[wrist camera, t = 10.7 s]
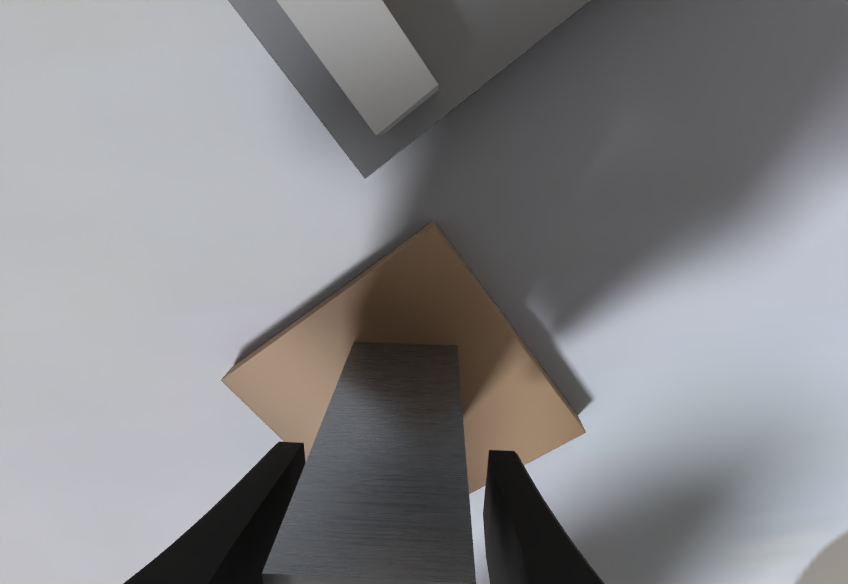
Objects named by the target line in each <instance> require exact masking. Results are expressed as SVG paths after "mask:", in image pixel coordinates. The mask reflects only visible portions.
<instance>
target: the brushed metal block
mask: <svg viewBox="0 0 848 584" xmlns="http://www.w3.org/2000/svg"><path fill="white" fill-rule="evenodd" d="M262 578H263V584H476V578H475V565H474V553H473V540H472V527H471V514H470V501H469V488H468V475H467V463H466V450H465V437H464V424H463V411H462V398H461V385H460V373H459V360H458V347H457V345H435V344H406V343H378V342H353V345H352V347H351V350H350V352H349V355H348V357H347V360H346V362H345V365H344V367H343V370H342V372H341V375H340V377H339V380H338V382H337V385H336V388H335V390H334V393H333V395H332V398H331V400H330V403H329V405H328V408H327V410H326V413H325V415H324V418H323V420H322V423H321V425H320V428H319V430H318V433H317V435H316V438H315V441H314V443H313V446H312V448H311V451H310V453H309V456H308V458H307V461H306V463H305V466H304V468H303V471H302V473H301V476H300V478H299V481H298V483H297V486H296V488H295V491H294V494H293V496H292V499H291V501H290V504H289V506H288V509H287V511H286V514H285V516H284V519H283V521H282V524H281V526H280V529H279V531H278V534H277V536H276V539H275V542H274V544H273V547H272V549H271V552H270V554H269V557H268V559H267V562H266V564H265V567H264V569H263V572H262Z"/></svg>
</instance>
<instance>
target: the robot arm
mask: <svg viewBox="0 0 848 584" xmlns="http://www.w3.org/2000/svg"><path fill="white" fill-rule="evenodd" d="M305 463H306V461H305V451H304V443H298V442H278V443H277V444H276V445H275V446H274V447H273V448H272V449H271V450H270V451H269V452H268V453H267V454H266V455H265V456H264V457H263V458H262V459H261V460H260V461H259V462H258V463H257V464H256V465H255V466H254V467H253V468H252V469H251V470H250V471H249V472H248V473H247V474H246V475H245V476H244V477H243V478H242V479H241V480H240V481H239V482H238V483H237V484H236V485H235V486H234V487H233V488H232V489H231V490H230V491H229V492H228V493H227V494H226V495H225V496H224V497H223V498H222V499H221V500H220V501H219V502H218V503H217V504H216V505H215V506H214V507H213V508H212V509H211V510H210V511H208V512H207V513H206V514H205V515H204V516H203V517H202V518H201V519H200V520H199V521H198V522H196V523H195V524H194V525H193V526H192V527H191V528H190V529H189V530H187V531H186V532H185V533H184V534H183V535H182V536H181V537H180V538H178V539H177V540H176V541H175V542H174V543H173V544H172V545H171V546H169V547H168V548H167V549H166V550H165V551H163V552H162V553H161V554H160V555H159V556H157V557H156V558H155V559H154V560H153V561H151V562H150V563H149V564H148V565H146V566H145V567H144V568H143V569H141V570H140V571H139V572H138V573H136V574H135V575H134V576H133V577H131V578H130V579H129V580H127V581H126V582H125V583H124V584H263V578H262V572H263V569H264V567H265V564H266V562H267V559H268V557H269V554H270V552H271V549H272V547H273V544H274V542H275V539H276V536H277V534H278V531H279V529H280V526H281V524H282V521H283V519H284V516H285V514H286V511H287V509H288V506H289V504H290V501H291V499H292V496H293V494H294V491H295V488H296V486H297V483H298V481H299V478H300V476H301V473H302V471H303V468H304V466H305ZM483 519H484V534H485V547H486V559H487V565H488V572H489V578H490V583H491V584H604V583H603V581H602V580H601V579H600V578H599V576H598V575H597V574H596V573H595V571H594V570H593V569H592V567H591V566H590V565H589V563H588V562H587V561H586V559H585V558H584V557H583V555H582V554H581V553H580V551H579V550H578V549H577V547H576V546H575V545H574V543H573V542H572V541H571V539H570V538H569V536H568V535H567V534H566V532H565V531H564V529H563V528H562V526H561V525H560V523H559V522H558V520H557V519H556V517H555V516H554V514H553V513H552V511H551V510H550V508H549V507H548V505H547V504H546V502H545V501H544V499H543V497H542V496H541V494H540V493H539V491H538V489H537V488H536V486H535V484H534V483H533V481H532V479H531V477H530V476H529V474H528V472H527V470H526V469H525V467H524V465H523V463H522V461H521V459H520V457H519V455H518V454H517V453H516V452H515V451H504V450H489V454H488V465H487V477H486V488H485V499H484V510H483Z"/></svg>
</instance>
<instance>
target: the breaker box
mask: <svg viewBox="0 0 848 584" xmlns="http://www.w3.org/2000/svg"><path fill="white" fill-rule="evenodd" d="M228 1H229V2H230V3H231V5H232V6H233V7H234V9H235V10H236V11H237V13H238V14H239V15H240V16H241V18H242V19H243V20H244V22H245V23H246V24H247V26H248V27H249V28H250V29H251V31H252V32H253V33H254V35H255V36H256V37H257V39H258V40H259V41H260V42H261V44H262V45H263V46H264V48H265V49H266V50H267V52H268V53H269V54H270V56H271V57H272V58H273V59H274V61H275V62H276V63H277V65H278V66H279V67H280V69H281V70H282V71H283V72H284V74H285V75H286V76H287V78H288V79H289V80H290V82H291V83H292V84H293V85H294V87H295V88H296V89H297V91H298V92H299V93H300V95H301V96H302V97H303V98H304V100H305V101H306V102H307V104H308V105H309V106H310V108H311V109H312V110H313V112H314V113H315V114H316V115H317V117H318V118H319V119H320V121H321V122H322V123H323V125H324V126H325V127H326V128H327V130H328V131H329V132H330V134H331V135H332V136H333V138H334V139H335V140H336V141H337V143H338V144H339V145H340V147H341V148H342V149H343V151H344V152H345V153H346V154H347V156H348V157H349V158H350V160H351V161H352V162H353V164H354V165H355V166H356V167H357V169H358V170H359V171H360V173H361V174H362V175H363V177H364V178H367V177H368V176H369V175H371V174H372V173H373V172H374V171H376V170H377V169H378V168H380V167H381V166H382V165H383V164H385V163H386V162H387V161H388V160H390V159H391V158H392V157H393V156H395V155H396V154H397V153H398V152H400V151H401V150H402V149H403V148H405V147H406V146H407V145H409V144H410V143H411V142H412V141H414V140H415V139H416V138H417V137H419V136H420V135H421V134H422V133H424V132H425V131H426V130H427V129H429V128H430V127H431V126H433V125H434V124H435V123H436V122H438V121H439V120H440V119H441V118H443V117H444V116H445V115H446V114H448V113H449V112H450V111H451V110H453V109H454V108H455V107H456V106H458V105H459V104H460V103H462V102H463V101H464V100H465V99H467V98H468V97H469V96H470V95H472V94H473V93H474V92H475V91H477V90H478V89H479V88H480V87H482V86H483V85H484V84H485V83H487V82H488V81H489V80H491V79H492V78H493V77H494V76H496V75H497V74H498V73H499V72H501V71H502V70H503V69H504V68H506V67H507V66H508V65H509V64H511V63H512V62H513V61H515V60H516V59H517V58H518V57H520V56H521V55H522V54H523V53H525V52H526V51H527V50H528V49H530V48H531V47H532V46H533V45H535V44H536V43H537V42H538V41H540V40H541V39H542V38H544V37H545V36H546V35H547V34H549V33H550V32H551V31H552V30H554V29H555V28H556V27H557V26H559V25H560V24H561V23H562V22H564V21H565V20H566V19H567V18H569V17H570V16H571V15H573V14H574V13H575V12H576V11H578V10H579V9H580V8H581V7H583V6H584V5H585V4H586V3H588V2H589V1H590V0H228Z"/></svg>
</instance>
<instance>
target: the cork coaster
mask: <svg viewBox="0 0 848 584" xmlns="http://www.w3.org/2000/svg"><path fill="white" fill-rule="evenodd" d="M353 342H378V343H406V344H435V345H457V347H458V360H459V373H460V385H461V398H462V411H463V424H464V437H465V450H466V463H467V475H468V488H469V494H470V493H472V492H474V491H476V490H478V489H480V488H481V487H483V486H485V485H486V477H487V465H488V454H489V450H504V451H515V452H516V453H517V454H518V455H519V457H520V459H521V461H522V463H523V465H525V464H527V463H529V462H531V461H533V460H535V459H537V458H539V457H540V456H542V455H544V454H546V453H548V452H550V451H552V450H554V449H556V448H558V447H559V446H561V445H563V444H565V443H567V442H569V441H571V440H573V439H575V438H577V437H578V436H580V435H582V434H584V433H586V432H585V430H584V428H583V426H582V423H581V421H580V419H579V417H578V415H577V414H576V413H575V411H574V410H573V409H572V407H571V406H570V405H569V403H568V402H567V401H566V399H565V398H564V396H563V395H562V394H561V392H560V391H559V390H558V388H557V387H556V386H555V384H554V383H553V382H552V380H551V379H550V378H549V376H548V375H547V374H546V372H545V371H544V369H543V368H542V367H541V365H540V364H539V363H538V361H537V360H536V359H535V357H534V356H533V355H532V353H531V352H530V351H529V349H528V348H527V346H526V345H525V344H524V342H523V341H522V340H521V338H520V337H519V336H518V334H517V333H516V332H515V330H514V329H513V328H512V326H511V325H510V324H509V322H508V321H507V319H506V318H505V317H504V315H503V314H502V313H501V311H500V310H499V309H498V307H497V306H496V305H495V303H494V302H493V301H492V299H491V298H490V296H489V295H488V294H487V292H486V291H485V290H484V288H483V287H482V286H481V284H480V283H479V282H478V280H477V279H476V278H475V276H474V275H473V274H472V272H471V271H470V269H469V268H468V267H467V265H466V264H465V263H464V261H463V260H462V259H461V257H460V256H459V255H458V253H457V252H456V251H455V249H454V248H453V246H452V245H451V244H450V242H449V241H448V240H447V238H446V237H445V236H444V234H443V233H442V232H441V230H440V229H439V228H438V226H437V225H436V224H435V222H434V221H432V222H431V223H429V224H428V225H427V226H425V227H424V228H423V229H421V230H420V231H418V232H417V233H416V234H414V235H413V236H412V237H410V238H409V239H407V240H406V241H405V242H403V243H402V244H401V245H399V246H398V247H396V248H395V249H394V250H392V251H391V252H390V253H388V254H387V255H385V256H384V257H383V258H381V259H380V260H379V261H377V262H376V263H374V264H373V265H372V266H370V267H369V268H368V269H366V270H365V271H363V272H362V273H361V274H359V275H358V276H357V277H355V278H354V279H352V280H351V281H350V282H348V283H347V284H346V285H344V286H343V287H341V288H340V289H339V290H337V291H336V292H335V293H333V294H332V295H330V296H329V297H328V298H326V299H325V300H324V301H322V302H321V303H319V304H318V305H317V306H315V307H314V308H313V309H311V310H310V311H308V312H307V313H306V314H304V315H303V316H302V317H300V318H299V319H297V320H296V321H295V322H293V323H292V324H291V325H289V326H288V327H286V328H285V329H284V330H282V331H281V332H280V333H278V334H277V335H275V336H274V337H273V338H271V339H270V340H269V341H267V342H266V343H264V344H263V345H262V346H260V347H259V348H258V349H256V350H255V351H253V352H252V353H251V354H249V355H248V356H247V357H245V358H244V359H242V360H241V361H240V362H238V363H237V364H235V365H234V366H233V367H232V368H231V369H230V370H229V371H228V373H227V374H226V375H225V376H224V377H223V378H222V380H221V381H222V382H223V383H224V384H225V385H226V386H227V387H228V388H229V389H230V390H231V391H232V392H233V393H234V394H235V395H236V396H238V397H239V398H240V399H241V400H242V401H243V402H244V403H245V404H246V405H247V406H248V407H249V408H250V409H251V410H252V411H253V412H254V413H255V414H256V415H257V416H258V417H259V418H260V419H261V420H262V421H263V422H264V423H265V424H266V425H268V426H269V427H270V428H271V429H272V430H273V431H274V432H275V433H276V434H277V435H278V436H279V437H280V438H281V439H282V440H283V441H284V442H298V443H304V451H305V461H307V458H308V456H309V453H310V451H311V448H312V446H313V443H314V441H315V438H316V435H317V433H318V430H319V428H320V425H321V423H322V420H323V418H324V415H325V413H326V410H327V408H328V405H329V403H330V400H331V398H332V395H333V393H334V390H335V388H336V385H337V382H338V380H339V377H340V375H341V372H342V370H343V367H344V365H345V362H346V360H347V357H348V355H349V352H350V350H351V347H352V345H353Z"/></svg>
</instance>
